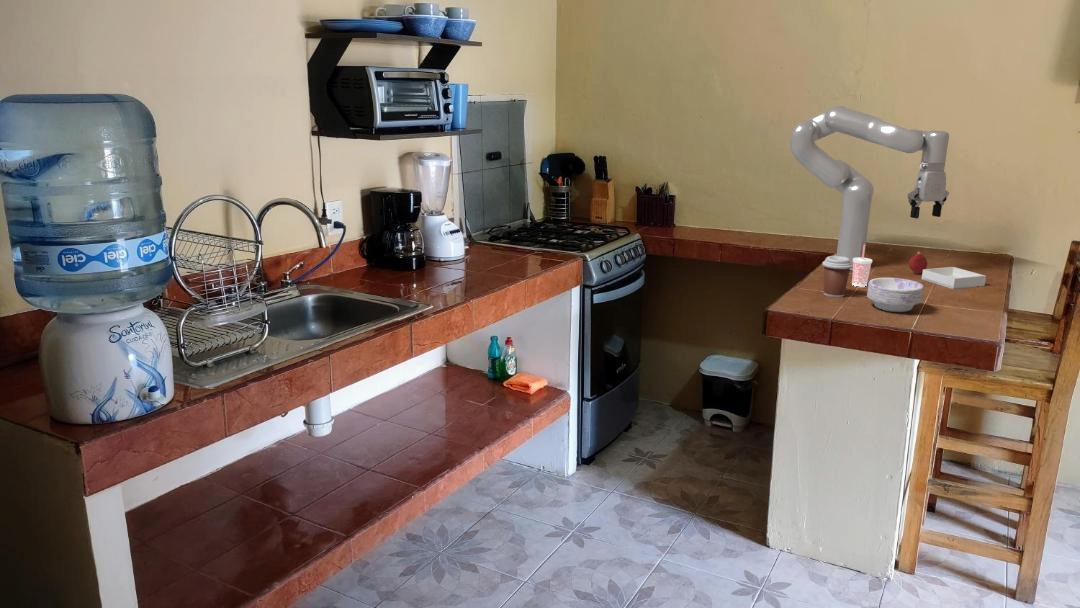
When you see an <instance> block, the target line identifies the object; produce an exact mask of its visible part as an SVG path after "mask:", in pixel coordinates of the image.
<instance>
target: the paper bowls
mask: <svg viewBox="0 0 1080 608" xmlns="http://www.w3.org/2000/svg"><path fill="white" fill-rule="evenodd" d="M923 293H924V285H923V284H922V283H921V282H919V281H916V280H911V279H906V278H901V277H900V278H898V277H877V278H872V279H870V280H868V283H867V293H866V295H867V298H868V299H869V300H872V302H873V304H874V306H875V307H876V309H878V310H881V309H882V311H885V312H891V313H905V312H909V311H911V310H912V309H913V308H914V306H915V305H918V304H921V303H922V302H923V296H924V295H923Z"/></svg>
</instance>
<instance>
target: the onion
mask: <svg viewBox="0 0 1080 608" xmlns="http://www.w3.org/2000/svg"><path fill="white" fill-rule="evenodd" d="M908 267H909V269H910V270H911V271H912V273H914V274H915V275H919V274H920V273H923V269H927V267H928V260H927V259H926V257H925V256H924V255H923V254H922V253H921V252H920V251H917V253H916V254H915V255H913V256H912V257H911V258H910V259H909V261H908Z"/></svg>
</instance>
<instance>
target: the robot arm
mask: <svg viewBox="0 0 1080 608" xmlns="http://www.w3.org/2000/svg"><path fill="white" fill-rule="evenodd" d="M834 133H840V134H844V135H847V136H850V137H853V138H856V139H859V140H863V141H866V142H869V143H871V144H877V145H880V146H883V147H886V148H887V149H888V148H889V149H892V150H896V151H898V152H902V153H906V154H914V153H916V152H919V151H920V152H922V154H921V160H920V165H919V171H918V173H917V176H916V179H915V184H914V189H913V190H912V191H910V192H908V194H907V199H908V203H909V205H910V207H911V208H910V215H909V217H910V218H912V219H919V217H920V209H921V207H920V206H921V204H922V203H923V202H924V203H925V202H927V203H928V202H930V203H931V202H934V204H933V206H932V210H931V211H932V212H931V215H932V216H933V217H937V218H941V214H942V210H943V206H944V205H945V203H946V201H947V198H949V197H948V196H949V195H950V192H949V191H948V190H947V188H946V187H947V174H946V173H947V172H946V171H945V167H946V161H947V153H948V147H949V140H950V133H949V132H948V131H945V130H922V129H921V130H920V129H914V128H913V129H907V128H905V127H901V126H897V125H896V124H892V123H889V122H886V121H884V120H883V119H882V118H879V117H877V116H874V115H871V114H867V113H863V112H860V111H856V110H853V109H851V108H847V107H846V106H843V105H836V106H833V107H831V108H829V109H828V110H826V111H823V112H822V113H820V114H818V115H815V116H813V117H811V118H807V120H806V119H805V120H804V121H800V122H798V123H797V124H796V125H794V127H793V129H792V131H791V134H790V137H789V148H790V151H791V154H792V157H793V158H794V159H795V160H796V161H797V162H798V163H799V164H800V165H801V166H803V168H805V169H806V170H808V172H809V173H810V174H812V175H813V176H814V177H816V178H817V179H818V180H819V181H821V183H822V184H824V185H825V186H826V187H828V188H831V189H835V190H836V191H838V192H839V193H840V194H841V195H842V200H841V215H840V222H839V232H838V241H837V248H836V249H837V250H836V253H834V255H833V256H842V257H846V258H849V259H850V262H851V264H853V258H857V257H861V258H862V254H863V247H864V245H865V248H866V246H867V239H868V231H869V223H870V222H869V221H870V214H871V205H872V199H873V195H874V185H873V183H872V182H871V181H870V180H869V179H867V178H866V177H865V176H864V175H863V174H861V173H860V172H858V171H857V169H855V168H854V167H852V166H851V165H850V164H848V163H847V162H845V161H843V160H841V159H835V158H833V157H832V156H830V155H829V154H828V153H827V152H825V151H824V150H823V149H822V148H820V147H819V146H818V144H817V143H816V141H819V140H820V139H822V138H825V137H827V136H830V135H832V134H834ZM865 254H866V250H865V251H864V256H865ZM825 260H826V258H825V259H824V261H825ZM850 271H853V267H852V268H850Z"/></svg>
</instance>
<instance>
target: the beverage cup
mask: <svg viewBox="0 0 1080 608" xmlns="http://www.w3.org/2000/svg"><path fill="white" fill-rule="evenodd" d="M864 251H865V252H866V247H865V245H864V247H863V254H862V258H861V257H857V258H853V270H852V279H851V285H852V286H853V285H854V286H853V287H856V286H859V287H858V288H866V287H868V283H869V278H870V277H869V276H870V273H871V268H872V267H871V265H872V263H873V259H871V258H867V257H865V255H864ZM865 286H866V287H865Z"/></svg>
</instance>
